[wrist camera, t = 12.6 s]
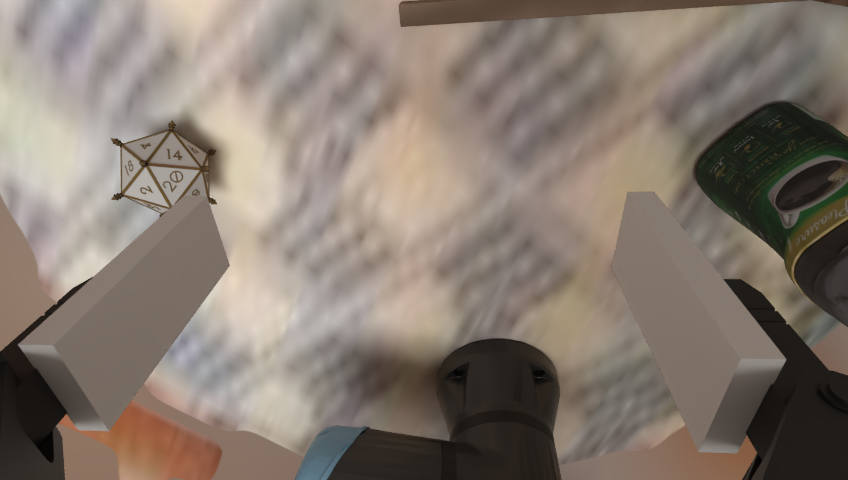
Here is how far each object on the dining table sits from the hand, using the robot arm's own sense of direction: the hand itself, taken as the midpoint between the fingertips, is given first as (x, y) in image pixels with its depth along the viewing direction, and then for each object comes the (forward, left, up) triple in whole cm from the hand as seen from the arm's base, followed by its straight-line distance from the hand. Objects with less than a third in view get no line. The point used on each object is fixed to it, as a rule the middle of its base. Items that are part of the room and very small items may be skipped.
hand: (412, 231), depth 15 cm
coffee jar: (-10, -27, -28) cm, 40 cm away
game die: (-8, +25, -28) cm, 38 cm away
